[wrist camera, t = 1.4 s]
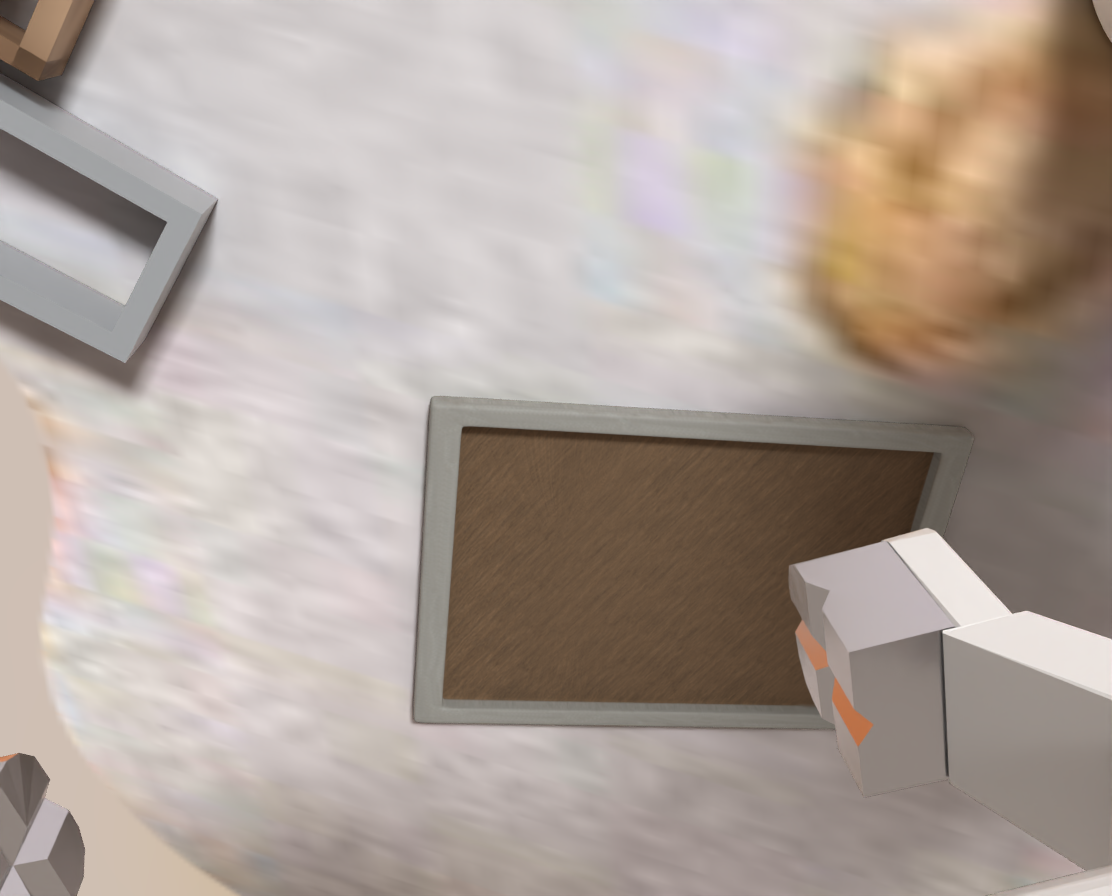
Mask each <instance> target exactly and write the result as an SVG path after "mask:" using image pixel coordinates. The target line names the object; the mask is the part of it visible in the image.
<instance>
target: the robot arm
mask: <svg viewBox="0 0 1112 896" xmlns="http://www.w3.org/2000/svg"><path fill="white" fill-rule="evenodd" d="M1092 1H1093V4H1094V8H1095V10H1096V13H1097V16H1098V18H1099V21H1100V23H1101V25H1102V27H1103V29H1104V31H1105V33H1106V34H1107V36H1108V38H1109V39H1110V41H1111V42H1112V0H1092ZM788 580H789V588H790V597H791V600H792V601H793V603H794V605H795V607H796V609H797V610H798V612H799V614H800V616H801V618H802V621H801V623H800V625H799V626H798V628H797V630H796V631H795V635H796V641H797V647H798V653H799V659H800V662H801V666H802V670H803V674H804V677H805V681H806V684H807V687H808V689H809V692H810V694H811V697H812V699H813V701H814V703H815V705H816V707H817V709H818V711H819V713H820V715H821V717H822V719H824V720H826V721H828V722H830V723H832V724H834V725H835V729H836V737H837V745H838V750H839V752H840V754H841V756H842V758H843V760H844V761H845V763H846V765H847V767H848V769H849V771H850V773H851V775H852V777H853V778H854V780H855V782H856V784H857V786H858V788H859V790H860V792H861V793H862V795H863V797H864V798H865V797H869V796H874V795H879V794H883V793H888V792H893V791H897V790H902V789H906V788H911V787H916V786H920V785H925V784H929V783H934V782H939V781H943V780H948V779H949V783H950V784H951V785H953V786H954V787H956V788H957V789H959V790H960V791H962V792H964V793H965V794H967V795H968V796H970V797H971V798H973V799H975V800H976V801H978V802H979V803H981V804H982V805H984V806H986V807H987V808H989V809H990V810H992V811H993V812H995V813H996V814H998V815H1000V816H1001V817H1003V818H1004V819H1006V820H1007V821H1009V822H1011V823H1012V824H1014V825H1015V826H1017V827H1018V828H1020V829H1021V830H1023V831H1025V832H1026V833H1028V834H1029V835H1031V836H1032V837H1034V838H1036V839H1037V840H1039V841H1040V842H1042V843H1043V844H1045V845H1047V846H1048V847H1050V848H1051V849H1053V850H1054V851H1056V852H1057V853H1059V854H1061V855H1062V856H1064V857H1065V858H1067V859H1068V860H1070V861H1072V862H1073V863H1075V864H1076V865H1078V866H1079V867H1081V868H1082V869H1084V870H1086V871H1084V872H1080V873H1076V874H1072V875H1068V876H1063V877H1059V878H1055V879H1051V880H1047V881H1043V882H1039V883H1035V884H1031V885H1027V886H1023V887H1019V888H1015V889H1011V890H1007V891H1002V892H998V893H994V894H990V895H986V896H1112V639H1110V638H1107V637H1104V636H1101V635H1098V634H1095V633H1092V632H1089V631H1086V630H1083V629H1080V628H1077V627H1074V626H1071V625H1068V624H1065V623H1062V622H1059V621H1056V620H1053V619H1050V618H1047V617H1044V616H1041V615H1038V614H1035V613H1032V612H1029V611H1023V612H1018V613H1014V614H1012V613H1011V612H1010V611H1009V610H1008V609H1007V607H1006V606H1005V605H1004V604H1003V603H1002V602H1001V601H1000V600H999V599H998V598H997V597H996V596H995V594H994V593H993V592H992V591H991V590H990V589H989V588H988V587H987V586H986V585H985V584H984V583H983V581H982V580H981V579H980V578H979V577H978V576H977V575H976V574H975V573H974V572H973V571H972V570H971V568H970V567H969V566H968V565H967V564H966V563H965V562H964V561H963V560H962V559H961V558H960V557H959V556H958V554H957V553H956V552H955V551H954V550H953V549H952V548H951V547H950V546H949V545H948V544H947V543H946V541H945V540H944V539H943V538H942V537H941V536H940V535H939V534H938V533H937V532H936V531H935V530H932V529H929V528H925V529H921V530H917V531H914V532H910V533H906V534H903V535H899V536H896V537H892V538H888V539H885V540H882V541H881V542H879V543H875V544H871V545H867V546H863V547H859V548H855V549H852V550H848V551H844V552H840V553H836V554H832V555H828V556H824V557H820V558H816V559H812V560H808V561H804V562H800V563H797V564H793V565H789V574H788ZM49 781H50V779H49V777H48V776H47V774H46V773H45V771H44V770H43V768H42V767H41V766H40V764H39V762H38V761H37V760H36V758H35V757H34V756H30V755H26V754H21V753H17V754H12V755H8V756H3V757H0V896H77V893H78V891H79V888H80V885H81V883H82V880H83V877H84V855H85V847H84V844H83V840H82V837H81V833H80V830H79V827H78V825H77V823H76V822H75V820H74V818H73V816H72V815H71V813H70V811H69V810H68V809H66V808H64V807H62V806H60V805H58V804H56V803H54V802H52V801H50V800H48V799H46V798H45V796H46V793H47V789H48V785H49Z"/></svg>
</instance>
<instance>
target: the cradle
mask: <svg viewBox="0 0 1112 896" xmlns="http://www.w3.org/2000/svg"><path fill="white" fill-rule="evenodd" d="M0 129H2V130H4V131H6V132H7V133H9V134H11V135H13V136H15V137H16V138H18V139H20V140H22V141H24V142H25V143H27V144H29V145H31V146H32V147H34V148H36V149H38V150H40V151H41V152H43V153H45V154H47V155H48V156H50V157H52V158H54V159H56V160H57V161H59V162H61V163H63V164H65V165H66V166H68V167H70V168H72V169H73V170H75V171H77V172H79V173H81V174H82V175H84V176H86V177H88V178H89V179H91V180H93V181H95V182H97V183H98V184H100V185H102V186H104V187H106V188H107V189H109V190H111V191H113V192H114V193H116V194H118V195H120V196H122V197H123V198H125V199H127V200H129V201H131V202H132V203H134V204H136V205H138V206H139V207H141V208H143V209H145V210H147V211H148V212H150V213H152V214H154V215H155V216H157V217H159V218H161V219H163V220H164V221H166V222H167V224H166V226H165V228H164V230H163V232H162V234H161V236H160V238H159V240H158V242H157V244H156V246H155V248H154V250H153V252H152V254H151V256H150V258H149V260H148V262H147V264H146V266H145V268H144V270H143V271H142V273H141V275H140V277H139V279H138V281H137V283H136V285H135V287H134V289H133V291H132V293H131V295H130V297H129V299H128V301H127V303H126V305H125V306H124V305H122V304H120V303H119V302H117V301H115V300H113V299H111V298H109V297H107V296H105V295H103V294H101V293H100V292H98V291H96V290H94V289H92V288H90V287H88V286H86V285H84V284H82V283H80V282H79V281H77V280H75V279H73V278H71V277H69V276H67V275H65V274H63V273H61V272H60V271H58V270H56V269H54V268H52V267H50V266H48V265H46V264H44V263H42V262H40V261H39V260H37V259H35V258H33V257H31V256H29V255H27V254H25V253H23V252H21V251H20V250H18V249H16V248H14V247H12V246H10V245H8V244H6V243H4V242H2V241H0V300H1V301H3V302H5V303H7V304H9V305H11V306H13V307H15V308H17V309H19V310H21V311H23V312H25V313H27V314H29V315H31V316H33V317H35V318H37V319H39V320H41V321H43V322H45V323H47V324H49V325H51V326H53V327H55V328H57V329H59V330H61V331H63V332H64V333H66V334H68V335H70V336H72V337H74V338H76V339H78V340H80V341H82V342H84V343H86V344H88V345H90V346H92V347H94V348H96V349H98V350H100V351H102V352H104V353H106V354H108V355H110V356H112V357H114V358H116V359H118V360H120V361H122V362H124V363H126V362H127V361H128V359H129V358H130V357H131V356H132V355H133V353H134V352H135V351H136V350H137V349H138V347H139V346H140V345H141V344H142V343H143V341H144V340H145V339H146V337H147V335H148V333H149V331H150V329H151V327H152V325H153V323H154V321H155V319H156V317H157V316H158V314H159V312H160V310H161V308H162V306H163V304H164V302H165V300H166V298H167V296H168V294H169V292H170V290H171V289H172V287H173V285H174V283H175V281H176V279H177V277H178V275H179V273H180V271H181V269H182V267H183V265H184V263H185V262H186V260H187V258H188V256H189V254H190V252H191V250H192V248H193V246H194V244H195V242H196V240H197V238H198V236H199V235H200V233H201V231H202V229H203V227H204V225H205V223H206V221H207V219H208V217H209V215H210V213H211V211H212V209H213V207H214V206H215V204H216V202H217V200H218V199H217V198H216V197H214V196H212V195H210V194H209V193H207V192H205V191H204V190H202V189H200V188H198V187H197V186H195V185H193V184H191V183H190V182H188V181H186V180H184V179H183V178H181V177H179V176H178V175H176V174H174V173H172V172H171V171H169V170H167V169H165V168H164V167H162V166H160V165H159V164H157V163H155V162H153V161H152V160H150V159H148V158H146V157H145V156H143V155H141V154H140V153H138V152H136V151H134V150H133V149H131V148H129V147H127V146H126V145H124V144H122V143H121V142H119V141H117V140H115V139H114V138H112V137H110V136H108V135H107V134H105V133H103V132H102V131H100V130H98V129H96V128H95V127H93V126H91V125H89V124H88V123H86V122H84V121H83V120H81V119H79V118H77V117H76V116H74V115H72V114H70V113H69V112H67V111H65V110H64V109H62V108H60V107H58V106H57V105H55V104H53V103H51V102H50V101H48V100H46V99H45V98H43V97H41V96H39V95H38V94H36V93H34V92H32V91H31V90H29V89H27V88H26V87H24V86H22V85H20V84H19V83H17V82H15V81H13V80H12V79H10V78H8V77H7V76H5V75H3V74H1V73H0Z"/></svg>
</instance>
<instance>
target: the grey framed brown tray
mask: <svg viewBox="0 0 1112 896" xmlns="http://www.w3.org/2000/svg"><path fill="white" fill-rule="evenodd" d="M973 441H974V436H973V434H972V433H971V432H970V431H969V430H967V429H966V428H965V427H956V426H940V425H923V424H907V423H890V422H873V421H856V420H839V419H822V418H806V417H789V416H772V415H755V414H738V413H721V412H705V411H688V410H671V409H654V408H637V407H620V406H604V405H587V404H570V403H553V402H536V401H519V400H503V399H486V398H469V397H451V396H433V397H432V398H431V402H430V415H429V433H428V451H427V469H426V487H425V505H424V523H423V541H422V560H421V578H420V596H419V614H418V632H417V650H416V668H415V686H414V706H413V715H414V720H415V721H416V722H419V723H460V724H526V725H593V726H659V727H725V728H792V729H835V725H834V724H832V723H830V722H828V721H826V720H824V719H822V717H821V715H820V713H819V711H818V709H817V707H816V705H815V703H814V701H813V699H812V697H811V694H810V692H809V689H808V687H807V684H806V681H805V677H804V674H803V670H802V666H801V662H800V659H799V653H798V647H797V641H796V635H795V631H796V630H797V628H798V626H799V625H800V623H801V621H802V618H801V616H800V614H799V612H798V610H797V609H796V607H795V605H794V603H793V601H792V600H791V597H790V588H789V580H788V574H789V565H793V564H797V563H800V562H804V561H808V560H812V559H816V558H820V557H824V556H828V555H832V554H836V553H840V552H844V551H848V550H852V549H855V548H859V547H863V546H867V545H871V544H875V543H879V542H881V541H882V540H885V539H888V538H892V537H896V536H899V535H903V534H906V533H910V532H914V531H917V530H921V529H925V528H929V529H932V530H935V531H936V532H937V533H938V534H939V535H940V536H941V537H942V538H943V536H944V533H945V530H946V527H947V524H948V520H949V517H950V514H951V511H952V508H953V505H954V502H955V498H956V495H957V492H958V489H959V486H960V483H961V480H962V476H963V473H964V470H965V467H966V464H967V461H968V458H969V455H970V451H971V448H972V445H973Z"/></svg>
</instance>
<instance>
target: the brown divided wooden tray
mask: <svg viewBox="0 0 1112 896" xmlns="http://www.w3.org/2000/svg"><path fill="white" fill-rule="evenodd" d="M93 3H94V0H39V1H38V3H37V5H36V8H35V10H34V13H33V15H32V17H31V20H30V22H29V24H28V27H27V29H26V31H25V30H24V29H22V28H20V27H19V26H17V25H15V24H14V23H12V22H10V21H9V20H7V19H5V18H4V17H2V16H0V59H1V60H3V61H4V62H6V63H8V64H10V65H11V66H13V67H15V68H16V69H18V70H20V71H22V72H23V73H25V74H27V75H28V76H30V77H32V78H34V79H35V80H37V81H40V80H44V79H48V78H52V77H56V76H60V75H62V73H63V71H64V69H65V66H66V64H67V62H68V60H69V57H70V55H71V53H72V50H73V48H74V46H75V44H76V41H77V39H78V37H79V34H80V32H81V30H82V28H83V25H84V23H85V21H86V18H87V16H88V14H89V12H90V9H91V7H92V5H93Z"/></svg>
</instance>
